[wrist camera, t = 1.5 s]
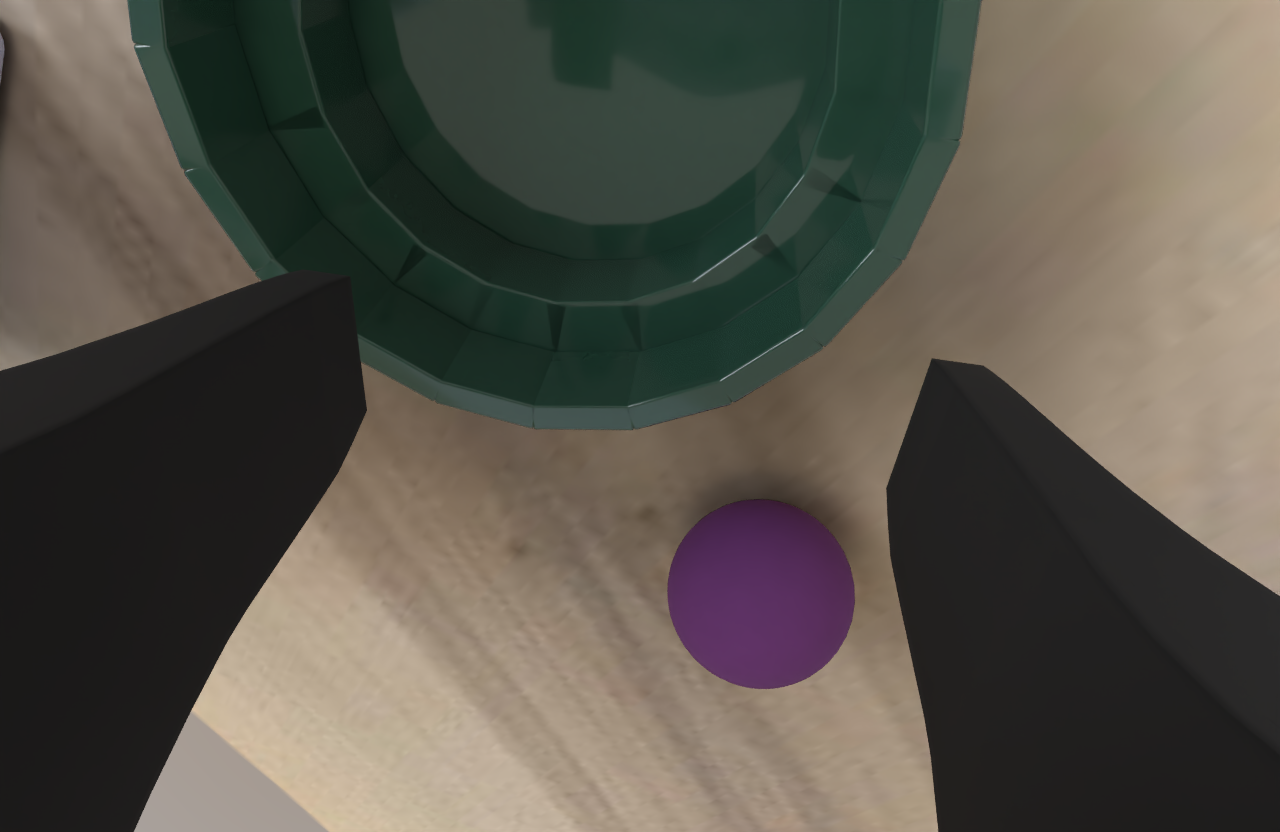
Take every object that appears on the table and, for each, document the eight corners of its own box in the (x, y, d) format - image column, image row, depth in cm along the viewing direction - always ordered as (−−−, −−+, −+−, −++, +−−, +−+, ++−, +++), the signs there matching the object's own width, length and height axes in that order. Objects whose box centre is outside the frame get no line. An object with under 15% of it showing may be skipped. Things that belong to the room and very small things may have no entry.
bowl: (679, 401, 22) (661, 528, 18) (208, 123, 19) (59, 198, 15) (1078, -85, 15) (1196, -58, 11) (422, -646, 12) (252, -892, 8)
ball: (776, 610, 26) (779, 752, 22) (643, 539, 25) (621, 674, 21) (882, 518, 24) (909, 659, 19) (740, 433, 22) (735, 564, 18)
